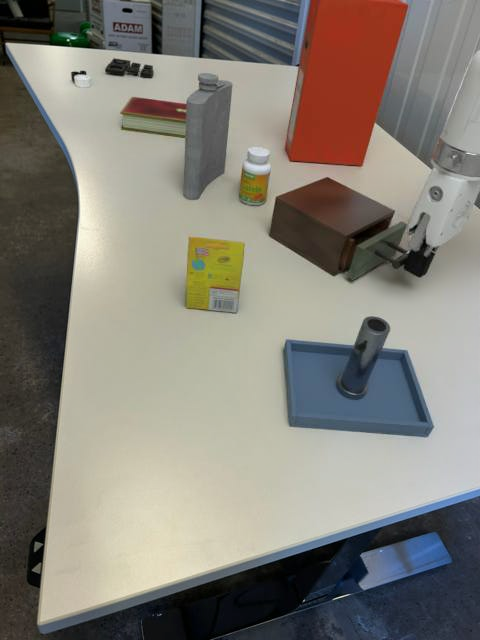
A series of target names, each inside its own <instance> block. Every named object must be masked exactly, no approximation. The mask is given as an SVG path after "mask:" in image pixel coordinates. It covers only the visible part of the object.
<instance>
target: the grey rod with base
mask: <svg viewBox="0 0 480 640" xmlns="http://www.w3.org/2000/svg"><path fill="white" fill-rule="evenodd" d="M390 332H391V325H390V324H389V322H387V320H385V319H383V318H381V317H379V316H376V315H375V316H373V315H370V316H366V317H364V319H363V320H362V323H361V325H360V328H359V331H358V333H357V335H356V338H355V341H354V344H353V345H354V346H353V349H352V352H351V354H350V357H349V360H348V362H347V365H346V367H345V370H344V372H343V373H341V374H340V375H339V377H338V379H337V382H336V387H337V390H338V391H339V393H340V394H341V395H343V396H344V397H346V398H348V399H352V400H358V399H361V398H363V397H364V396H365V395H366V393H367V391H368V388H369V385H368V380H369V378H370V375H371V373H372V371H373V368H374V366H375V364H376V362H377V359H378V357H379V355H380V352H381V350H382V348H384V346H385V343H386V341H387V339H388V336H389V334H390Z"/></svg>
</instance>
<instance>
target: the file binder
mask: <svg viewBox="0 0 480 640" xmlns="http://www.w3.org/2000/svg"><path fill="white" fill-rule="evenodd" d="M408 9H409V4H408V3H406V2H403V1H401V0H309V5H308V10H307V11H308V12H307V16H306V22H305V27H304V28H305V29H304V34H303V39H302V45H301V51H300V58H299V62H298V63H299V64H298V69H297V75H296V81H295V86H294V91H293V97H292V102H291V103H292V104H291V109H290V113H289V114H290V115H289V120H288V127H287V133H286V139H285V144H284V150H285V152H286V155H287V157H288V160H289V161H291V162H305V163H317V164H318V163H319V164H329V165H330V164H333V165H347V166H357V167H358V166H360V167H362V166H364V162H365V159H366V155H367V152H368V148H369V145H370V142H371V138H372V134H373V131H374V128H375V124H376V120H377V117H378V114H379V110H380V107H381V102H382V100H383V96H384V93H385V90H386V85H387V83H388V79H389V75H390V72H391V68H392V65H393V62H394V57H395V55H396V51H397V48H398V43H399V41H400V37H401V33H402V30H403V26H404V23H405V19H406V16H407V13H408Z"/></svg>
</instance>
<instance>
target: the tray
mask: <svg viewBox="0 0 480 640" xmlns="http://www.w3.org/2000/svg"><path fill="white" fill-rule="evenodd" d="M353 346H354V344H344V343H343V344H342V343H331V342H320V341H309V340H297V339H288V338H287V339H285V342H284V345H283V363H284V376H285V377H284V378H285V386H286V387H285V388H286V402H287V414H288V416H287V417H288V426H289V427H294V428H307V429H317V430H319V429H320V430H331V431H343V432H356V433H357V432H358V433H370V434H382V435H395V436H396V435H397V436H408V437H409V436H410V437H419V438H420V437H423V438H429V436H430V435H431V433H432V431H433V429H434V428H435V425H434V423H433V419H432V417H431V413H430V411H429V408H428V405H427V402H426V400H425V397H424V394H423V391H422V388H421V385H420V383H419V382H420V381H419V379H418V376H417V374H416V370H415V368H414V365H413V362H412V359H411V357H410V354H409V350H408V349H399V348H398V349H397V348H387V347H383V348H382V350H381V352H380V355H379V357H378V359H377V362H376V364H375V366H374V368H373V371H372V373H371V375H370V378H369V380H368V385H369V388H368V391H367V393H366V395H365V396H364V397H363V398H361V399H358V400H352V399H348V398H346V397H344V396H343V395H341V394H340V393H339V391H338V390H337V387H336V382H337V379H338V377H339V375H340V374H341V373H343V372H344V370H345V367H346V365H347V362H348V360H349V357H350V354H351V352H352V349H353Z"/></svg>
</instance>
